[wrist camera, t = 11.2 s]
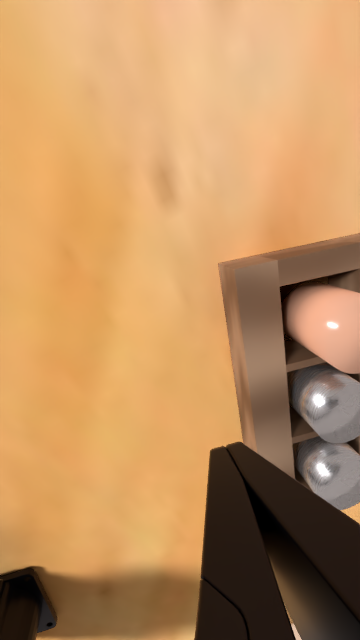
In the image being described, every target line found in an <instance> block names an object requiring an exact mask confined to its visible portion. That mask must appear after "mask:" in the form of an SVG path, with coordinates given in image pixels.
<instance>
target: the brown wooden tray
mask: <svg viewBox="0 0 360 640" xmlns="http://www.w3.org/2000/svg"><path fill="white" fill-rule="evenodd" d="M218 266H219V273H220V280H221V287H222V294H223V301H224V308H225V315H226V322H227V329H228V336H229V344H230V351H231V358H232V365H233V372H234V379H235V386H236V393H237V400H238V407H239V414H240V421H241V429H242V436H243V443H244V444H245V445H246V446H248V447H249V448H250V449H252V450H253V451H255V452H256V453H258V454H259V455H261V456H262V457H264V458H265V459H266V460H268V461H269V462H271V463H272V464H274V465H275V466H277V467H278V468H279V469H281V470H282V471H284V472H285V473H287V474H288V475H290V476H291V477H292V478H294V479H295V480H297V481H298V482H300V483H301V484H303V485H304V486H305V487H307V488H308V489H310V490H311V491H312V489H311V488H310V487H309V485H308V484H307V482H306V481H305V480H304V478H303V477H302V475H301V474H300V473H299V471H298V470H297V468H296V467H295V466H294V460H293V448H292V444H293V443H297V442H300V441H304V440H307V439H311V438H314V437H318V436H319V435H318V434H317V433H316V432H315V431H314V429H313V428H312V427H311V426H310V425H309V424H308V423H307V422H306V421H305V420H304V419H303V418H302V417H301V416H300V415H299V413H298V412H297V411H296V410H295V409H294V408H293V407H290V408H289V398H288V385H287V373H286V372H289V371H293V370H297V369H301V368H305V367H309V366H313V365H316V364H320V363H324V362H326V361H325V360H323V359H322V358H320V357H319V356H317V355H316V354H314V353H313V352H311V351H309V350H308V349H306V348H305V347H303V346H302V345H300V344H299V343H297V342H296V341H294V340H292V341H288V342H284V335H283V323H282V310H281V298H280V286H284V285H289V284H293V283H298V282H302V281H306V280H311V279H315V278H320V277H324V276H328V284H329V285H332V286H336V287H340V288H343V289H347V290H350V291H354V292H358V293H360V233H359V234H354V235H349V236H345V237H340V238H335V239H331V240H326V241H321V242H316V243H312V244H307V245H302V246H298V247H293V248H288V249H283V250H279V251H274V252H269V253H265V254H260V255H255V256H250V257H246V258H241V259H236V260H232V261H227V262H222V263H218ZM344 373H345V372H344ZM346 374H347V375H349V376H350V377H352V378H353V379H355V380H356V381H358V382H359V383H360V373H357V374H349V373H346ZM347 443H348V444H349V445H350V446H351V447H352V448H353V449H354V450H355V451H356V452H357V453H358V454H359V455H360V435H359V436H358V437H356V438H355V439H353V440H351V441H348V442H347Z"/></svg>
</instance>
